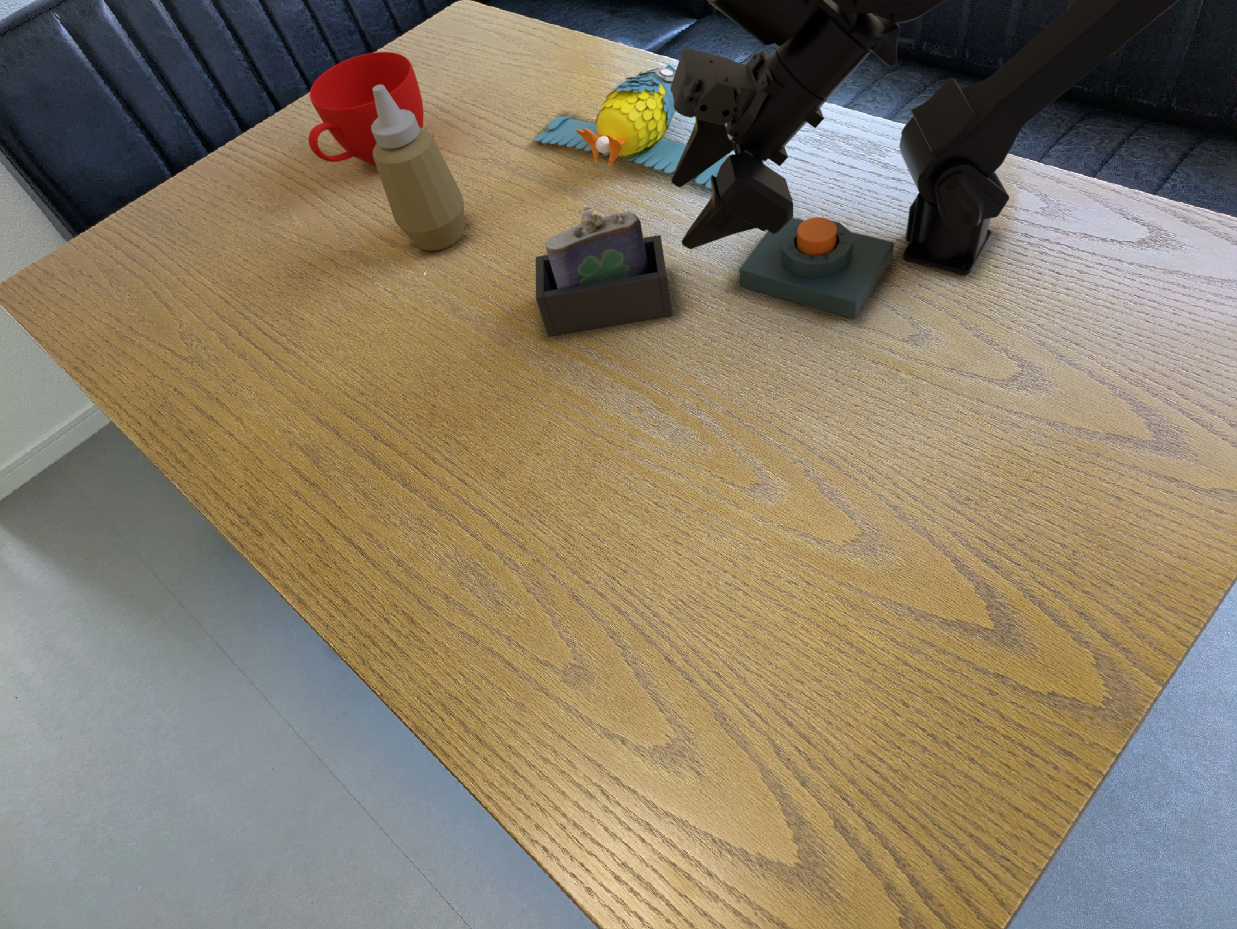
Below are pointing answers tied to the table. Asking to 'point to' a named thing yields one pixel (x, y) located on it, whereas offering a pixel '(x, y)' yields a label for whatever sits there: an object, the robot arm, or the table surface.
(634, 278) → the box
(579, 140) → the owl figurine
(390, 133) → the squeeze bottle
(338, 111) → the ceramic cup
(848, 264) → the panel
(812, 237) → the button
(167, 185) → the table surface
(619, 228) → the flask
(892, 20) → the robot arm
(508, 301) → the table surface
